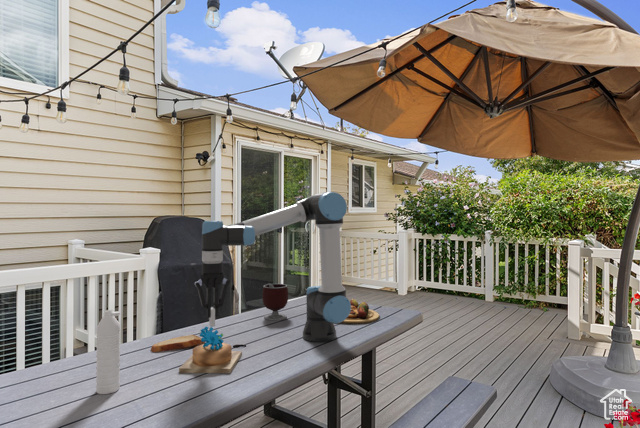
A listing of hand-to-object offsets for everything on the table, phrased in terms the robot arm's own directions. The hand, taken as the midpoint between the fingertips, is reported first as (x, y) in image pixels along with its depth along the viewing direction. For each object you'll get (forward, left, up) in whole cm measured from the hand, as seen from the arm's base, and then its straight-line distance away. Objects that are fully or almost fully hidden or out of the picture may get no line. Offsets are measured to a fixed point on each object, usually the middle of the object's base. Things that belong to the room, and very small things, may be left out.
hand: (212, 325), depth 147 cm
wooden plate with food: (-55, -70, -15) cm, 90 cm away
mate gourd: (-14, -67, -14) cm, 70 cm away
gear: (0, -1, -9) cm, 9 cm away
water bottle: (+25, +24, -14) cm, 37 cm away
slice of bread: (+20, -19, -15) cm, 31 cm away
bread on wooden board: (0, 0, -14) cm, 14 cm away
